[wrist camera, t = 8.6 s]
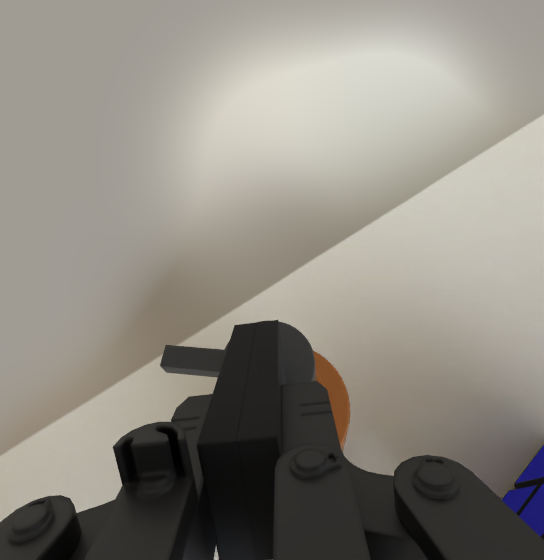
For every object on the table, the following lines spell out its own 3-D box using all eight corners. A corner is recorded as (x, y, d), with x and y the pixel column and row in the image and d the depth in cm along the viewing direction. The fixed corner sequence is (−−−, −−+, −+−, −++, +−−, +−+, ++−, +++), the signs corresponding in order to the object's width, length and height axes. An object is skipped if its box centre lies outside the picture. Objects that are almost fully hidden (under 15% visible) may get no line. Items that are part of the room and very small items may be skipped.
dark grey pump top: (319, 356, 19) (318, 323, 16) (313, 437, 17) (311, 417, 14) (196, 346, 20) (173, 313, 17) (178, 422, 18) (148, 400, 15)
